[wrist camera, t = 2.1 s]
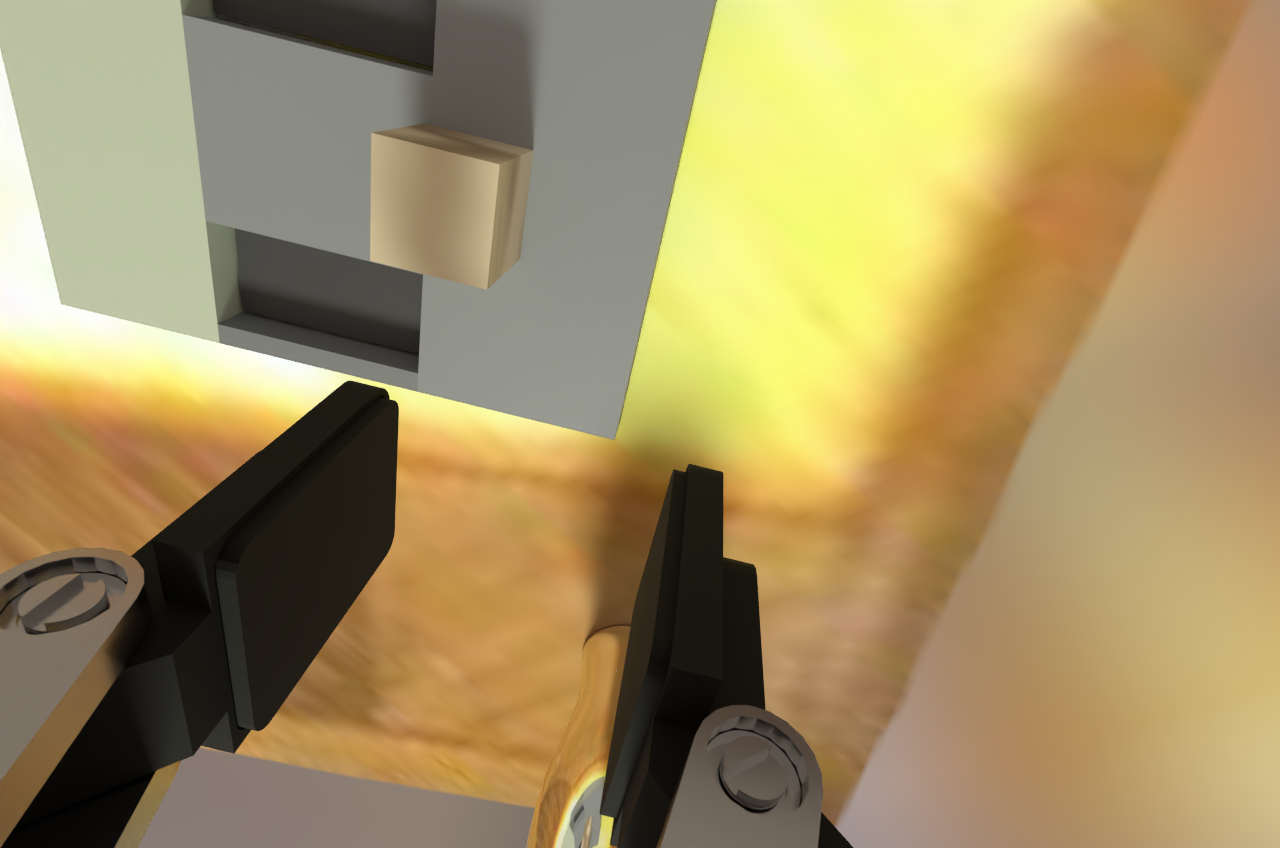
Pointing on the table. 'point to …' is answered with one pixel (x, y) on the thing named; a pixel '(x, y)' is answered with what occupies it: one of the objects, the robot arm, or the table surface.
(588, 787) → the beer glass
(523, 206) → the maple cube
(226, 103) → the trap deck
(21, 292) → the table surface
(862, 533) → the table surface
